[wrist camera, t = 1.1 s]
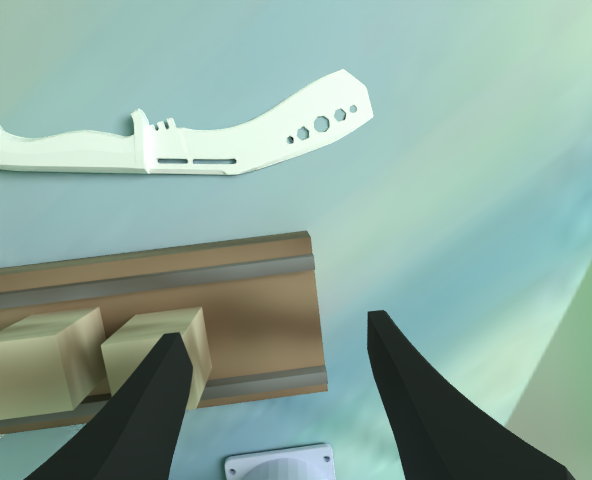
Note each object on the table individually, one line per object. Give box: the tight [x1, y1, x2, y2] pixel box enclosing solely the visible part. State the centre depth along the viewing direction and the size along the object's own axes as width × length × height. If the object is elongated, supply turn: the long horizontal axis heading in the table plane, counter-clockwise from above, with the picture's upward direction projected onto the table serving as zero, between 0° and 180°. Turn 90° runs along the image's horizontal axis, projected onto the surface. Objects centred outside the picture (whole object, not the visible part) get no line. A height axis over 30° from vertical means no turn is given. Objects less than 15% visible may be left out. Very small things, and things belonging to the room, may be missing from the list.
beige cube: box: [101, 307, 212, 410], centre depth 19 cm, size 4×4×4 cm
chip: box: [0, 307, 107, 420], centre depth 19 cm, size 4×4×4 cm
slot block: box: [0, 231, 328, 435], centre depth 22 cm, size 10×22×4 cm, turn 97°
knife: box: [0, 69, 374, 175], centre depth 22 cm, size 30×2×8 cm
